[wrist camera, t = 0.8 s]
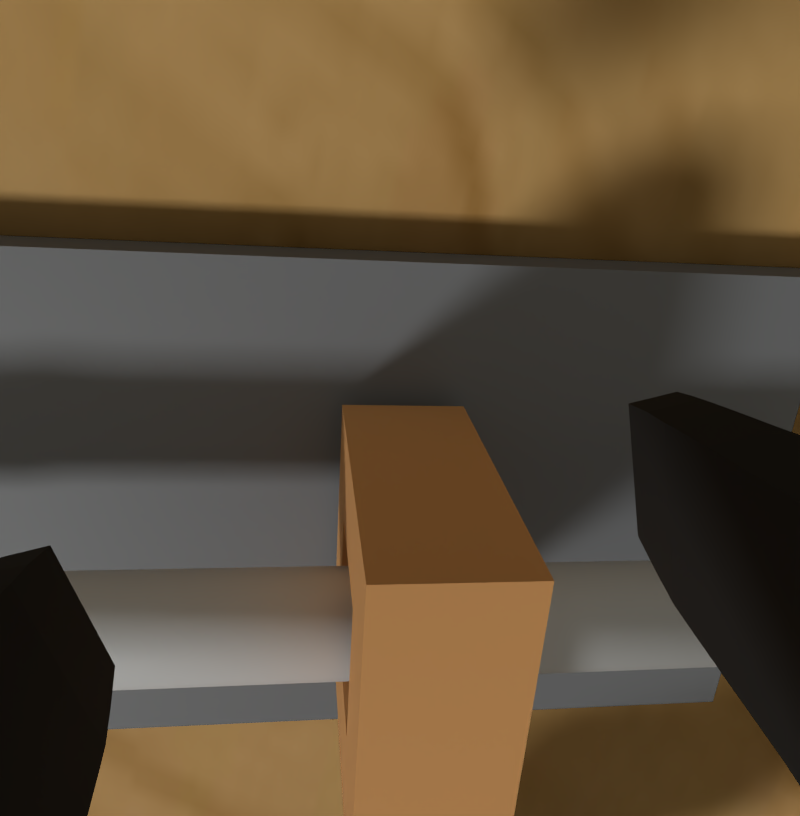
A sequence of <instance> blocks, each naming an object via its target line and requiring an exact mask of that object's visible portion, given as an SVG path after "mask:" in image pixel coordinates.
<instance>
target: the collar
mask: <svg viewBox="0 0 800 816" xmlns="http://www.w3.org/2000/svg"><path fill="white" fill-rule="evenodd" d="M336 566H348V567H349V577H350V587H351V597H352V607H353V614H352V635H351V655H350V676H349V681H346V682H336V694H337V711H338V728H339V744H340V761H341V778H342V795H343V812H344V816H514V813H515V807H516V801H517V795H518V789H519V784H520V778H521V772H522V766H523V760H524V755H525V749H526V743H527V737H528V731H529V726H530V720H531V714H532V708H533V702H534V697H535V691H536V685H537V679H538V673H539V668H540V662H541V656H542V650H543V644H544V639H545V633H546V627H547V621H548V615H549V610H550V604H551V598H552V592H553V586H554V579H553V577H552V575H551V574H550V572H549V570H548V568H547V566H546V564H545V562H544V560H543V558H542V556H541V554H540V552H539V550H538V549H537V547H536V545H535V543H534V541H533V539H532V537H531V535H530V533H529V531H528V529H527V527H526V525H525V524H524V522H523V520H522V518H521V516H520V514H519V512H518V510H517V508H516V506H515V504H514V502H513V500H512V498H511V497H510V495H509V493H508V491H507V489H506V487H505V485H504V483H503V481H502V479H501V477H500V475H499V473H498V472H497V470H496V468H495V466H494V464H493V462H492V460H491V458H490V456H489V454H488V452H487V450H486V448H485V447H484V445H483V443H482V441H481V439H480V437H479V435H478V433H477V431H476V429H475V427H474V425H473V423H472V422H471V420H470V418H469V416H468V414H467V412H466V410H465V408H464V406H399V405H342V425H341V452H340V480H339V507H338V534H337V561H336Z"/></svg>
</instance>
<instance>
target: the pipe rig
mask: <svg viewBox="0 0 800 816" xmlns="http://www.w3.org/2000/svg"><path fill="white" fill-rule="evenodd" d="M674 392H680V393H684V394H687V395H691V396H694V397H697V398H700V399H703V400H706V401H709V402H712V403H715V404H717V405H720V406H723V407H726V408H728V409H731V410H734V411H736V412H739V413H742V414H745V415H747V416H750V417H753V418H755V419H758V420H760V421H763V422H766V423H768V424H771V425H774V426H776V427H779V428H782V429H785V430H787V431H790V432H792V429H793V425H794V422H795V418H796V415H797V412H798V408H799V405H800V268H784V267H759V266H735V265H710V264H686V263H661V262H637V261H613V260H588V259H564V258H539V257H515V256H490V255H466V254H441V253H417V252H392V251H368V250H343V249H319V248H294V247H270V246H245V245H221V244H197V243H172V242H148V241H123V240H99V239H74V238H50V237H25V236H1V235H0V558H1V557H4V556H8V555H12V554H16V553H20V552H25V551H29V550H33V549H37V548H41V547H45V546H49V545H50V546H51V548H52V549H53V551H54V553H55V555H56V557H57V559H58V561H59V562H60V564H61V566H62V568H63V570H64V572H65V574H66V575H67V577H68V579H69V581H70V583H71V585H72V587H73V588H74V590H75V592H76V594H77V596H78V598H79V600H80V601H81V603H82V605H83V607H84V609H85V611H86V613H87V614H88V616H89V618H90V620H91V622H92V624H93V626H94V627H95V629H96V631H97V633H98V635H99V637H100V639H101V640H102V642H103V644H104V646H105V648H106V650H107V652H108V653H109V655H110V657H111V659H112V661H113V663H114V665H115V672H114V681H113V691H112V700H111V709H110V716H109V723H108V729H124V728H146V727H168V726H190V725H212V724H233V723H255V722H277V721H299V720H321V719H338V711H337V694H336V682H346V681H349V676H350V655H351V635H352V614H353V607H352V597H351V587H350V577H349V567H348V566H336V561H337V534H338V507H339V480H340V452H341V425H342V405H399V406H464V408H465V410H466V412H467V414H468V416H469V418H470V420H471V422H472V423H473V425H474V427H475V429H476V431H477V433H478V435H479V437H480V439H481V441H482V443H483V445H484V447H485V448H486V450H487V452H488V454H489V456H490V458H491V460H492V462H493V464H494V466H495V468H496V470H497V472H498V473H499V475H500V477H501V479H502V481H503V483H504V485H505V487H506V489H507V491H508V493H509V495H510V497H511V498H512V500H513V502H514V504H515V506H516V508H517V510H518V512H519V514H520V516H521V518H522V520H523V522H524V524H525V525H526V527H527V529H528V531H529V533H530V535H531V537H532V539H533V541H534V543H535V545H536V547H537V549H538V550H539V552H540V554H541V556H542V558H543V560H544V562H545V564H546V566H547V568H548V570H549V572H550V574H551V575H552V577H553V579H554V586H553V592H552V598H551V604H550V610H549V615H548V621H547V627H546V633H545V639H544V644H543V650H542V656H541V662H540V668H539V673H538V679H537V685H536V691H535V697H534V702H533V708H532V710H539V709H560V708H582V707H604V706H626V705H648V704H669V703H691V702H713V699H714V696H715V692H716V689H717V685H718V682H719V678H720V675H721V672H720V670H719V669H718V667H717V666H716V665H715V663H714V662H713V660H712V659H711V657H710V656H709V655H708V653H707V652H706V650H705V649H704V647H703V646H702V645H701V643H700V642H699V640H698V639H697V637H696V636H695V635H694V633H693V632H692V630H691V629H690V627H689V626H688V624H687V623H686V622H685V620H684V619H683V617H682V616H681V614H680V613H679V611H678V610H677V608H676V607H675V605H674V604H673V602H672V600H671V599H670V597H669V595H668V593H667V591H666V589H665V588H664V586H663V584H662V582H661V580H660V578H659V576H658V575H657V573H656V571H655V569H654V567H653V565H652V563H651V561H650V559H649V557H648V555H647V553H646V551H645V549H644V547H643V545H642V543H641V541H640V539H639V537H638V530H637V516H636V502H635V488H634V474H633V460H632V446H631V432H630V418H629V403H633V402H637V401H641V400H645V399H649V398H653V397H657V396H661V395H665V394H669V393H674Z"/></svg>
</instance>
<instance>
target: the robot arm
mask: <svg viewBox="0 0 800 816" xmlns="http://www.w3.org/2000/svg"><path fill="white" fill-rule="evenodd" d="M629 418H630V432H631V446H632V460H633V474H634V488H635V502H636V516H637V530H638V537H639V539H640V541H641V543H642V545H643V547H644V549H645V551H646V553H647V555H648V557H649V559H650V561H651V563H652V565H653V567H654V569H655V571H656V573H657V575H658V576H659V578H660V580H661V582H662V584H663V586H664V588H665V589H666V591H667V593H668V595H669V597H670V599H671V600H672V602H673V604H674V605H675V607H676V608H677V610H678V611H679V613H680V614H681V616H682V617H683V619H684V620H685V622H686V623H687V624H688V626H689V627H690V629H691V630H692V632H693V633H694V635H695V636H696V637H697V639H698V640H699V642H700V643H701V645H702V646H703V647H704V649H705V650H706V652H707V653H708V655H709V656H710V657H711V659H712V660H713V662H714V663H715V665H716V666H717V667H718V669H719V670H720V672H721V673H722V674H723V676H724V677H725V679H726V680H727V681H728V683H729V684H730V686H731V687H732V689H733V690H734V691H735V693H736V694H737V696H738V697H739V698H740V700H741V701H742V703H743V704H744V705H745V707H746V708H747V710H748V711H749V713H750V714H751V715H752V717H753V718H754V720H755V721H756V722H757V724H758V725H759V727H760V728H761V729H762V731H763V732H764V734H765V735H766V737H767V738H768V739H769V741H770V742H771V744H772V745H773V746H774V748H775V749H776V751H777V752H778V754H779V755H780V756H781V758H782V759H783V761H784V762H785V763H786V765H787V767H788V768H789V770H790V771H791V773H792V774H793V776H794V777H795V779H796V780H797V782H798V783H799V785H800V435H798V434H795V433H793V432H790V431H787V430H785V429H782V428H779V427H776V426H774V425H771V424H768V423H766V422H763V421H760V420H758V419H755V418H753V417H750V416H747V415H745V414H742V413H739V412H736V411H734V410H731V409H728V408H726V407H723V406H720V405H717V404H715V403H712V402H709V401H706V400H703V399H700V398H697V397H694V396H691V395H687V394H684V393H680V392H674V393H669V394H665V395H661V396H657V397H653V398H649V399H645V400H641V401H637V402H633V403H629ZM114 672H115V665H114V663H113V661H112V659H111V657H110V655H109V653H108V652H107V650H106V648H105V646H104V644H103V642H102V640H101V639H100V637H99V635H98V633H97V631H96V629H95V627H94V626H93V624H92V622H91V620H90V618H89V616H88V614H87V613H86V611H85V609H84V607H83V605H82V603H81V601H80V600H79V598H78V596H77V594H76V592H75V590H74V588H73V587H72V585H71V583H70V581H69V579H68V577H67V575H66V574H65V572H64V570H63V568H62V566H61V564H60V562H59V561H58V559H57V557H56V555H55V553H54V551H53V549H52V548H51V546H50V545H49V546H45V547H41V548H37V549H33V550H29V551H25V552H20V553H16V554H12V555H8V556H4V557H1V558H0V816H87V815H88V811H89V807H90V803H91V800H92V796H93V792H94V788H95V784H96V780H97V777H98V773H99V769H100V765H101V761H102V757H103V753H104V749H105V744H106V737H107V730H108V723H109V716H110V709H111V700H112V691H113V681H114Z"/></svg>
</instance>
